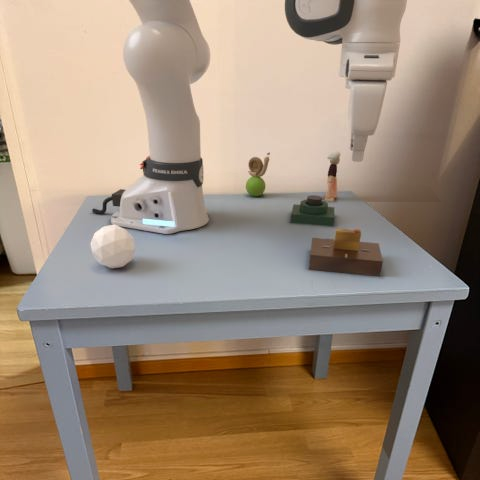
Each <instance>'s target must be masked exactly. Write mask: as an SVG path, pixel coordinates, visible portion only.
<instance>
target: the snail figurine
mask: <svg viewBox="0 0 480 480" xmlns="http://www.w3.org/2000/svg"><path fill="white" fill-rule="evenodd" d="M266 155H267V156H265V157H264V158H263V160H262V159H261V158H260V157H258V156H253V157H251V158H250V159H249V160H248V165H247V166H248V169H249V170H248V171H247V173H248V174H249V176H251V177H249V178H248V179H247V181H246V182H245V190H246V192H247V194H248V195H250V196H251V197H260V196H261V195H263V194H264V193H265V190H266V187H267V186H266V181H265V180H264V178H263V176H265V174H266V172H267V170H268V166H269V162H270V155H271V152H270V151H269V152H267V153H266Z"/></svg>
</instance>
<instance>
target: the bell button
mask: <svg viewBox="0 0 480 480" xmlns="http://www.w3.org/2000/svg"><path fill="white" fill-rule="evenodd" d="M306 200H307V205H311V206H321V205H322V201H323V197H322V196H320V195H314V194H313V195H312V194H311V195H307V196H306Z"/></svg>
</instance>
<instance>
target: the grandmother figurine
mask: <svg viewBox="0 0 480 480" xmlns="http://www.w3.org/2000/svg"><path fill="white" fill-rule="evenodd" d="M340 157H341V151H338V150H333V151H331V152H330V153H329V154H328V156H327V160H329V163H330V165H329V167H328V171H327V182H326V183H327V189H326V192H325V196H324V201H325V202H331V203H333V202H335V201H336V200H335V198H337V197H338V180H337V179H338V178H337V173H338V165H339V163H340V161H341V158H340Z"/></svg>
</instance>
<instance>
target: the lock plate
mask: <svg viewBox="0 0 480 480" xmlns="http://www.w3.org/2000/svg"><path fill="white" fill-rule="evenodd" d="M334 239H335V238H334ZM334 239H332V238H322V237H312V238H311V245H310V246H311V247H310V256H309V263H308V270H312V271H319V272H320V271H321V272H322V271H323V272H332V273H343V274H351V275H352V274H353V275H360V276H361V275H362V276H371V277H372V276H373V277H380V276H381V273H382V267H383V263H384V260H383V257H382V252H381V247H380V243H378V242H369V241H368V242H367V241H360V243H359V249H358V251H354V250H342V249H334Z"/></svg>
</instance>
